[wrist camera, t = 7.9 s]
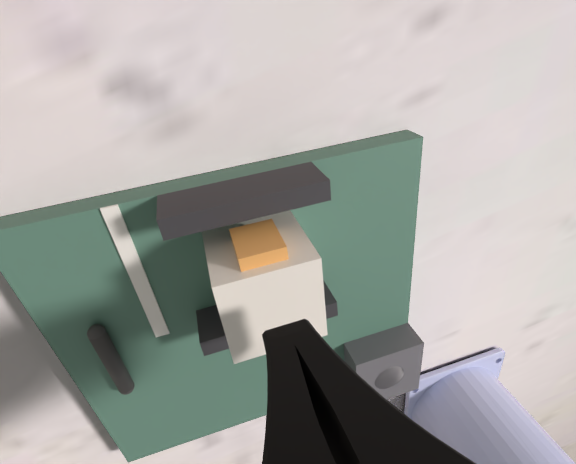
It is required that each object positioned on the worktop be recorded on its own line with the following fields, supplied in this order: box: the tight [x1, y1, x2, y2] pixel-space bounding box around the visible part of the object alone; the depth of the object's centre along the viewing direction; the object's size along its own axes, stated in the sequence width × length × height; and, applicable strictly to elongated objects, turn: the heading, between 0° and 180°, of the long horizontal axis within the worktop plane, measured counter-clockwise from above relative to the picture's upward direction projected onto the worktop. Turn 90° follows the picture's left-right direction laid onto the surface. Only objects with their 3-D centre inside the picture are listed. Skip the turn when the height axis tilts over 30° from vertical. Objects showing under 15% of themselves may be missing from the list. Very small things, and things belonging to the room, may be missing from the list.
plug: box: [202, 210, 328, 364], centre depth 14 cm, size 4×4×4 cm
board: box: [0, 130, 424, 462], centre depth 18 cm, size 15×17×3 cm
